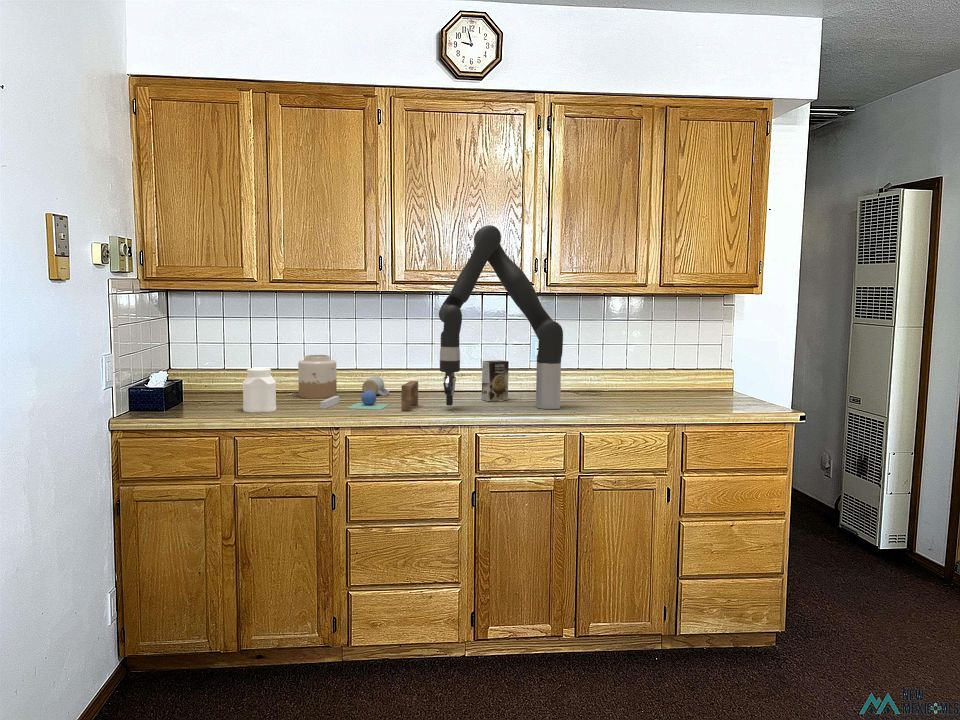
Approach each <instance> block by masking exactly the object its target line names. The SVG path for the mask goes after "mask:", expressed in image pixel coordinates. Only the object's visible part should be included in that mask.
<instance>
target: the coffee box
mask: <svg viewBox="0 0 960 720" xmlns="http://www.w3.org/2000/svg"><path fill="white" fill-rule="evenodd" d="M509 363H510V362H509V360H496V359H495V360H482V367H481V368H482V369H481V401H484V400H486V401H485V402H487V401H497V402H500V401H499V400H509V367H510V366H509Z"/></svg>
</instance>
